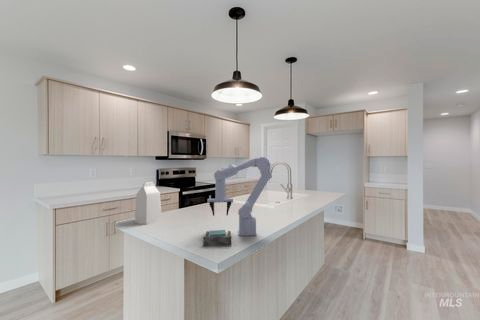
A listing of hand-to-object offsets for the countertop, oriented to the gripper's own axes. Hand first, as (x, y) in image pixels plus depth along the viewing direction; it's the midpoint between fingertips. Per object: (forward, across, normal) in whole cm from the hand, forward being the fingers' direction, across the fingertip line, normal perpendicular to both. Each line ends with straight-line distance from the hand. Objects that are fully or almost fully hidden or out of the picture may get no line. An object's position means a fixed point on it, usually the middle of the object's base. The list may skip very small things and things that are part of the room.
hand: (220, 215), depth 127 cm
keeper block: (+10, +1, +16) cm, 18 cm away
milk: (+10, +48, -24) cm, 55 cm away
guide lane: (+9, +1, +12) cm, 15 cm away
